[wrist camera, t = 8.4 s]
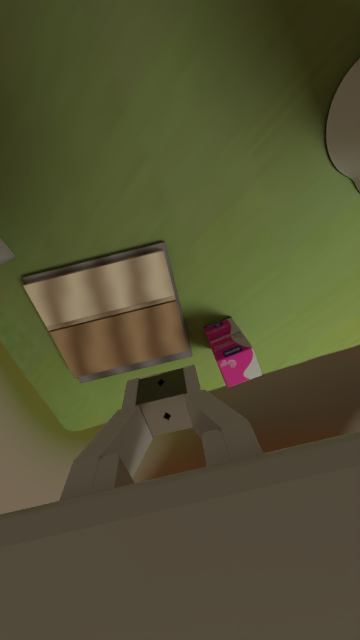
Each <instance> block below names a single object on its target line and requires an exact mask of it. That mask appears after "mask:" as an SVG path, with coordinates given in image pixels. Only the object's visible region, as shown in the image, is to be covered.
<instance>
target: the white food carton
mask: <svg viewBox="0 0 360 640" xmlns="http://www.w3.org/2000/svg"><path fill="white" fill-rule="evenodd" d="M14 257H15V256H14V255H13V253H12V252H11V251H10V250H9V249H8V247H7V246H6V245H5V244H4V242H3V241H2V240H1V239H0V265H2V264H3V263H5V262H7V261H9V260H11V259H12V258H14Z"/></svg>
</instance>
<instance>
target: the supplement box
mask: <svg viewBox="0 0 360 640" xmlns="http://www.w3.org/2000/svg"><path fill="white" fill-rule="evenodd" d="M204 331H205V333H206V336H207V339H208V341H209V344H210V346H211V349H212V351H213V354H214V356H215V359H216V361H217V364H218V366H219V369H220V371H221V374H222V376H223V379H224V381H225V383H226V386H227V387H231V386H234V385H236V384H239V383H241V382H244V381H247V380H250V379H252V378H255V377H258V376H261V375H262V373H261V370H260V367H259V364H258V361H257V358H256V356H255V353H254V350H253V347H252V346H251V344H250V343H249V341H248V340H247V339H246V337H245V336H244V334H243V333H242V332H241V330H240V329H239V327H238V326H237V325H236V323H235V322H234V320H233V319H232V317H229V318H226V319H224V320H222V321H219V322H217V323H214V324H212V325H209V326H206V327H204Z"/></svg>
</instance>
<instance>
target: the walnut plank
mask: <svg viewBox="0 0 360 640" xmlns="http://www.w3.org/2000/svg"><path fill="white" fill-rule="evenodd" d="M49 333H50V335H51V337H52V339H53V340H54V342H55V344H56V346H57V348H58V349H59V351H60V353H61V355H62V357H63V358H64V360H65V362H66V364H67V365H68V367H69V369H70V371H71V373H72V374H73V376H74V378H77V377H81V376H85V375H89V374H93V373H97V372H102V371H106V370H110V369H114V368H118V367H122V366H126V365H130V364H135V363H139V362H143V361H147V360H151V359H155V358H159V357H163V356H167V355H172V354H176V353H180V352H184V351H188V347H187V342H186V338H185V334H184V330H183V326H182V322H181V318H180V314H179V310H178V307H177V303H176V299H175V300H171V301H167V302H163V303H159V304H155V305H151V306H147V307H143V308H139V309H135V310H131V311H126V312H122V313H118V314H114V315H110V316H106V317H102V318H98V319H94V320H90V321H86V322H82V323H78V324H74V325H70V326H66V327H62V328H58V329H53V330H51V331H50V332H49Z"/></svg>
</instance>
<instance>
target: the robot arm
mask: <svg viewBox="0 0 360 640" xmlns="http://www.w3.org/2000/svg"><path fill="white" fill-rule="evenodd" d="M326 141H327V148H328V152H329V156H330V158H331V160H332V162H333V164H334V166H335V167H336V168H337V169H338V170H339V171H340V172H341V173H342V174H344V175H345V176H347V177H349V178H350V179H352V180H353V181H354V183H355V185H356V187H357V189H358V190H359V192H360V58H359V60H358V61H357V62H356V63H355V64H354V65H353V66H352V67H351V69H350V70H349V71H348V73H347V74H346V76H345V77H344V79H343V80H342V82H341V84H340V85H339V87H338V89H337V91H336V94H335V96H334V98H333V101H332V104H331V107H330V110H329V115H328V120H327V128H326ZM188 428H193V429H194V430H195V431H196V432H197V433H198V434H199V435H200V437H201V438H202V441H203V447H204V452H205V458H206V464H207V467H204V468H200V469H195V470H191V471H187V472H182V473H179V474H174V475H170V476H165V477H161V478H156V479H152V480H148V481H143V482H139V483H134V481H133V479H132V478H133V476H134V474H135V472H136V470H137V468H138V466H139V464H140V462H141V460H142V458H143V456H144V454H145V453H146V451H147V448H148V447H149V445H150V443H151V440H152V437H154V436H158V435H162V434H165V433H169V432H173V431H178V430H182V429H188ZM0 640H360V431H359V432H355V433H350V434H346V435H342V436H338V437H333V438H329V439H325V440H320V441H316V442H312V443H307V444H303V445H298V446H294V447H290V448H286V449H281V450H277V451H273V452H268V453H264V454H263V452H262V450H261V448H260V445H259V443H258V441H257V439H256V436H255V434H254V432H253V430H252V427H251V425H250V423H249V421H248V420H247V419H245V418H244V417H242V416H241V415H239V414H238V413H237V412H235V411H234V410H232V409H231V408H230V407H228V406H227V405H225V404H224V403H223V402H221V401H220V400H218V399H217V398H215V397H214V396H213V395H211V394H210V393H208V392H207V391H206V390H201V389H200V385H199V381H198V377H197V373H196V369H195V365H190V366H186V367H183V368H180V369H176V370H172V371H168V372H164V373H159V374H154V375H149V376H145V377H140V378H136V379H132V380H128V382H127V385H126V390H125V395H124V400H123V405H122V409H120V410H118V411H117V412H116V413H115V414H114V415H113V417H112V418H111V419H110V420H109V421H108V422H107V424H106V425H105V426H104V427H103V428H102V429H101V430H100V432H99V433H98V434H97V435H96V436H95V437H94V438H93V440H92V441H91V442H90V443H89V444H88V445H87V447H86V448H85V449H84V450H83V451H82V452H81V453H80V454H79V456H78V457H77V458H76V459H75V460H74V461H73V464H72V467H71V469H70V473H69V475H68V478H67V481H66V484H65V486H64V490H63V492H62V495H61V498H60V500H59V501H57V502H53V503H49V504H45V505H40V506H36V507H32V508H27V509H23V510H18V511H14V512H10V513H5V514H1V515H0Z"/></svg>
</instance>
